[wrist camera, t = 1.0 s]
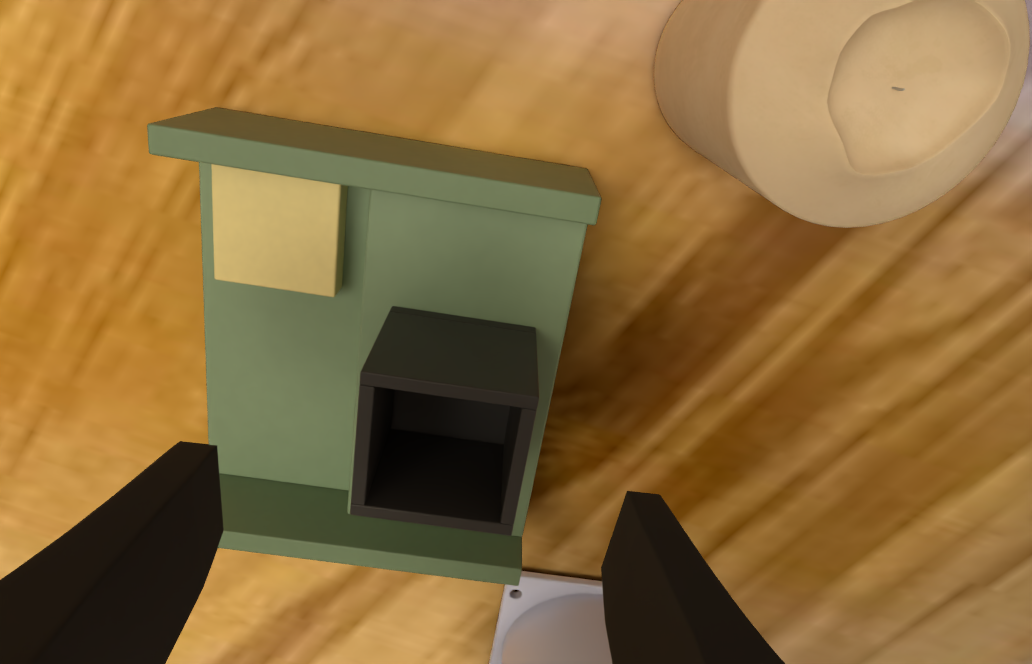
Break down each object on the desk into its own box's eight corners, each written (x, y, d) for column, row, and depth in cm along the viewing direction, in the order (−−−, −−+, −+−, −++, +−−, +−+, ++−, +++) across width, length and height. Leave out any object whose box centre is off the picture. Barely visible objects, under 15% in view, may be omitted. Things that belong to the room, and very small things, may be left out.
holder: (513, 447, 23) (511, 536, 19) (380, 428, 23) (349, 515, 19) (536, 326, 21) (539, 397, 17) (391, 304, 21) (359, 371, 17)
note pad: (342, 287, 22) (334, 298, 21) (226, 270, 22) (213, 280, 21) (349, 173, 21) (340, 179, 20) (224, 152, 20) (210, 158, 19)
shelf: (518, 509, 27) (518, 586, 24) (223, 469, 27) (173, 542, 23) (588, 168, 22) (602, 197, 18) (214, 106, 21) (145, 123, 17)
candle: (741, 192, 22) (898, 304, 13) (614, 84, 21) (686, 124, 12) (872, 46, 20) (1162, 57, 11) (741, -82, 19) (947, -190, 10)
